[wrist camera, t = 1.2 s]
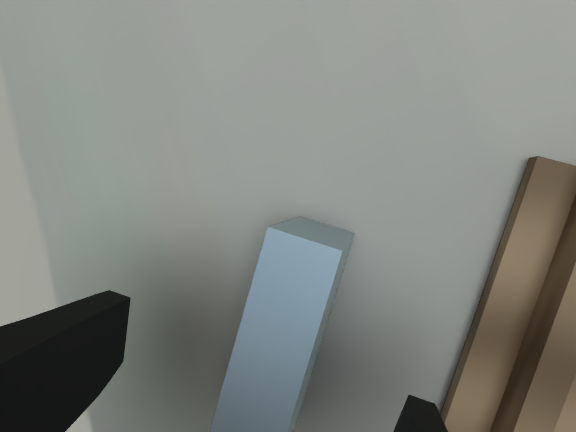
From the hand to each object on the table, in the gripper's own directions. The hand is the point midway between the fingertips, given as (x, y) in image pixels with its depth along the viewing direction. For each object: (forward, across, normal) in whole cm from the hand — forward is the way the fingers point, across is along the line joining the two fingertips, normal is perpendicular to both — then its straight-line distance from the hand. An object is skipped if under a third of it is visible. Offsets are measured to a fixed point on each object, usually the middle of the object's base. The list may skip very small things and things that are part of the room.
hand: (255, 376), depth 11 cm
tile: (+9, 0, +4) cm, 10 cm away
